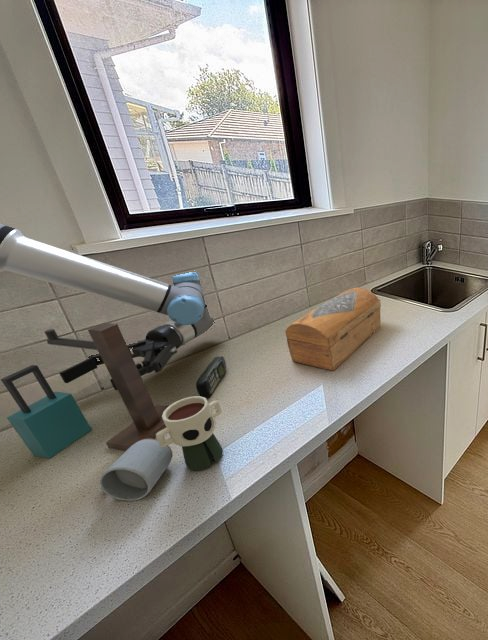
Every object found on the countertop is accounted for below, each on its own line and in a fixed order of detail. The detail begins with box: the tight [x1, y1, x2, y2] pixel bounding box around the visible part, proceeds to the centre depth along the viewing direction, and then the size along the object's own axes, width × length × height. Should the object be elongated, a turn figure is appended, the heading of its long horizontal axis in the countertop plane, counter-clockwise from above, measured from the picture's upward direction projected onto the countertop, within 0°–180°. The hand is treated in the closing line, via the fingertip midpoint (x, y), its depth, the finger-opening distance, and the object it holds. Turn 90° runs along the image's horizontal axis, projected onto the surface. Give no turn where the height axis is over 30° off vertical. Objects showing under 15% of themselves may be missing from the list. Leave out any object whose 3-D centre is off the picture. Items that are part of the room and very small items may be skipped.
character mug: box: [155, 395, 224, 471], centre depth 64 cm, size 11×7×13 cm, turn 149°
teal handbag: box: [0, 364, 92, 459], centre depth 66 cm, size 4×8×18 cm, turn 171°
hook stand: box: [43, 322, 169, 452], centre depth 69 cm, size 18×12×26 cm
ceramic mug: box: [98, 438, 174, 502], centre depth 60 cm, size 11×8×8 cm
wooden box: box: [285, 287, 382, 371], centre depth 106 cm, size 30×16×14 cm, turn 159°
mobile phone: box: [195, 356, 227, 399], centre depth 88 cm, size 5×3×15 cm
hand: (87, 381), depth 74 cm, fingers open, 13 cm apart
